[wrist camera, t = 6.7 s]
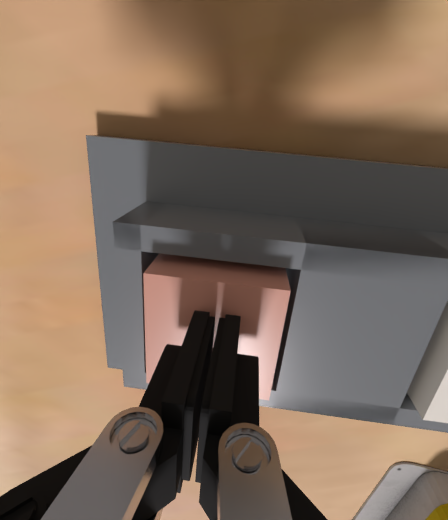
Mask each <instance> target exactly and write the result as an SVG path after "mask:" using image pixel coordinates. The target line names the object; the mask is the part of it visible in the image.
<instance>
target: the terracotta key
mask: <svg viewBox="0 0 448 520" xmlns="http://www.w3.org/2000/svg"><path fill="white" fill-rule="evenodd" d="M143 279H144V315H145V351H146V383H149V382H150V380H151V378H152V375H153V373H154V371H155V368H156V366H157V364H158V362H159V359H160V357H161V355H162V352H163V350H164V348H165V346H166V345H167V344H171V345H178V346H182V343H183V340H184V338H185V335H186V332H187V329H188V327H189V324H190V321H191V318H192V316H193V313H194V311H195V310H197V311H205V312H210V316H212V317H215V324H214V336H213V346H214V341H215V336H216V332H217V327H218V322H219V318H225V316H226V314H228V315H236V316H241V319H240V330H239V341H238V352H237V354H244V355H251V356H258V357H259V399H262V400H269V398H270V393H271V388H272V383H273V378H274V373H275V368H276V363H277V358H278V353H279V348H280V343H281V338H282V332H283V327H284V322H285V317H286V312H287V307H288V302H289V297H290V292H291V290H290V286H289V281H288V277H287V272H286V268H281V267H273V266H264V265H255V264H247V263H238V262H229V261H221V260H212V259H204V258H195V257H186V256H178V255H169V254H160V253H159V254H158V256H157V257H156V258H155V259H154V261H153V262H152V263H151V264H150V266H149V267H148V268H147V269H146V271H145V272H144V273H143ZM212 351H213V348H212Z"/></svg>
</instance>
